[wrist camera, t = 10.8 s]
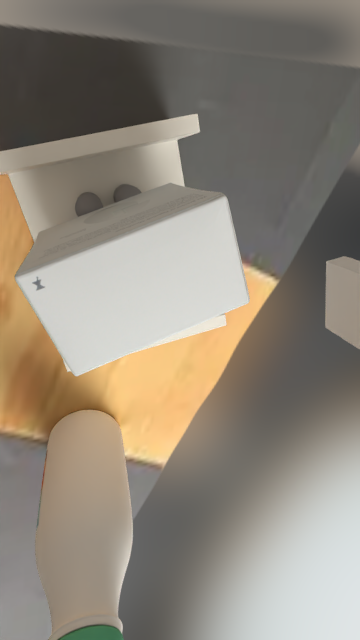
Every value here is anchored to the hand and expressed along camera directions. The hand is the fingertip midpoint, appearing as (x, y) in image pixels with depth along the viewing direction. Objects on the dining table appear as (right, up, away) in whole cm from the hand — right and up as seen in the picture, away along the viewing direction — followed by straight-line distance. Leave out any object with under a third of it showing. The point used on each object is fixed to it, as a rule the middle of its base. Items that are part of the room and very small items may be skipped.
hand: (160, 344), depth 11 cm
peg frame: (-5, +8, +17) cm, 20 cm away
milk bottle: (-10, -12, +25) cm, 30 cm away
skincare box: (-4, +6, +14) cm, 16 cm away
